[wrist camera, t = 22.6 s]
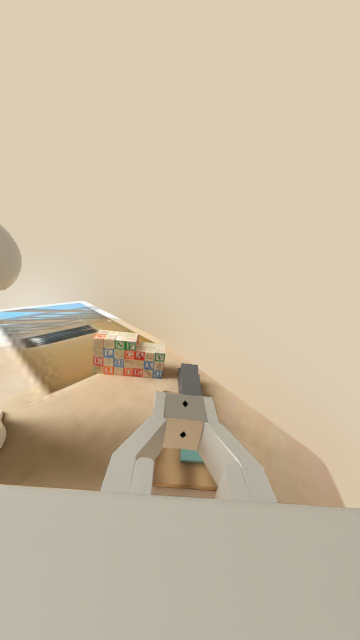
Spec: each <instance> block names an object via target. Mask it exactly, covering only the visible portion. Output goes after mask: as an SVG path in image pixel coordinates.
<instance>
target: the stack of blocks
mask: <svg viewBox="0 0 360 640" xmlns="http://www.w3.org/2000/svg"><path fill="white" fill-rule="evenodd" d="M138 335H139V334H137V333H127V332H116V331H107V330H100V331H99V332H98V333H97V334H96V335H95V336H94V337H93V364H94V365H93V370H94V373H99V374H109V375H121V376H123V375H124V376H138V377H150V378H162V374H163V368H164V359H165V344H156V343H146V342H138Z"/></svg>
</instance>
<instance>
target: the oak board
mask: <svg viewBox="0 0 360 640" xmlns="http://www.w3.org/2000/svg"><path fill="white" fill-rule="evenodd" d="M163 392H165V393H166V392H168V393H175V394H179V392H169V391H163ZM202 396H205V397H212V396H207V395H202ZM180 451H181V449H177V448H163V449H162V450H161V452H160V454H159V455H158V457H157V458H156V468H155V478H154V486H159V487H173V488H187V489H201V490H215V491H217V489H218V486H217V484H216V482H215V481H214V479H213V477H212V476H211V474H210V472H209V470H208V469H207V467H206V465H205V464H203V463H189V462H180Z"/></svg>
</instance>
